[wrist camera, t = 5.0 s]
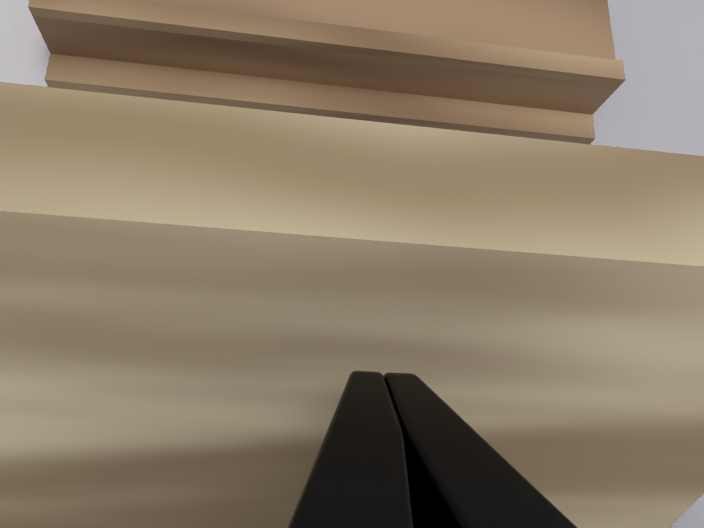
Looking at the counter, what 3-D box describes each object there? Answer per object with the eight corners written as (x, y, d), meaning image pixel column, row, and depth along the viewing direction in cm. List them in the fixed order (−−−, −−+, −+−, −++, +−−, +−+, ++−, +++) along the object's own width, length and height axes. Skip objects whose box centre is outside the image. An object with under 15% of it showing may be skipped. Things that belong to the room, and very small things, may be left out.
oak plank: (644, 553, 13) (910, 283, 8) (-51, 547, 11) (-264, 190, 6) (595, 434, 16) (780, 164, 10) (8, 413, 14) (-113, 69, 9)
